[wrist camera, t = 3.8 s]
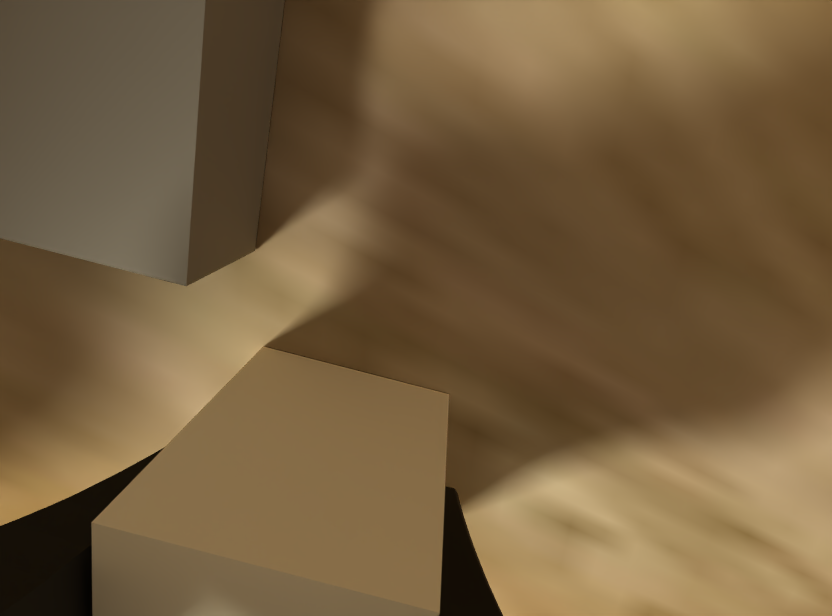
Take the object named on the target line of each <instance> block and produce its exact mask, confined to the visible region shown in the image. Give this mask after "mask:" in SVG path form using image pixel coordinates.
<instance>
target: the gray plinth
mask: <svg viewBox="0 0 832 616" xmlns="http://www.w3.org/2000/svg"><path fill="white" fill-rule="evenodd" d="M284 2H285V0H0V238H1V239H4V240H8V241H12V242H16V243H20V244H24V245H28V246H32V247H36V248H40V249H43V250H47V251H51V252H55V253H59V254H63V255H67V256H71V257H75V258H79V259H82V260H86V261H90V262H94V263H98V264H102V265H106V266H110V267H114V268H118V269H121V270H125V271H129V272H133V273H137V274H141V275H145V276H149V277H153V278H157V279H160V280H164V281H168V282H172V283H176V284H180V285H184V286H188V285H189V284H191V283H193V282H195V281H197V280H199V279H201V278H203V277H205V276H207V275H209V274H211V273H213V272H215V271H217V270H219V269H220V268H222V267H224V266H226V265H228V264H230V263H232V262H234V261H236V260H238V259H240V258H242V257H244V256H246V255H248V254H250V253H252V252H253V251H255V247H256V239H257V230H258V222H259V213H260V205H261V196H262V188H263V179H264V171H265V163H266V154H267V146H268V137H269V129H270V120H271V112H272V104H273V95H274V87H275V78H276V70H277V61H278V53H279V44H280V36H281V28H282V19H283V11H284Z"/></svg>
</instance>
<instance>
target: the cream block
mask: <svg viewBox="0 0 832 616" xmlns="http://www.w3.org/2000/svg"><path fill="white" fill-rule="evenodd" d="M448 410H449V394H446V393H442V392H439V391H435V390H431V389H427V388H423V387H419V386H415V385H411V384H407V383H404V382H400V381H396V380H392V379H388V378H384V377H380V376H376V375H372V374H369V373H365V372H361V371H357V370H353V369H349V368H345V367H341V366H337V365H334V364H330V363H326V362H322V361H318V360H314V359H310V358H306V357H302V356H299V355H295V354H291V353H287V352H283V351H279V350H275V349H271V348H267V347H264V346H263V347H262V348H261V349H260V350H259V351H258V352H257V353H256V354H255V356H254V357H253V358H252V359H251V360H250V361H249V362H248V363H247V364H246V365H245V366H244V367H243V368H242V369H241V370H240V371H239V372H238V373H237V374H236V375H235V376H234V377H233V378H232V379H231V380H230V381H229V382H228V383H227V384H226V385H225V386H224V387H223V388H222V389H221V390H220V391H219V392H218V393H217V394H216V395H215V396H214V398H213V399H212V400H211V401H210V402H209V403H208V404H207V405H206V406H205V407H204V408H203V409H202V410H201V411H200V412H199V413H198V414H197V415H196V416H195V417H194V418H193V419H192V420H191V421H190V422H189V423H188V424H187V425H186V426H185V427H184V428H183V429H182V430H181V431H180V432H179V433H178V434H177V435H176V436H175V437H174V438H173V439H172V441H171V442H170V443H169V444H168V445H167V446H166V447H165V448H164V449H163V450H162V451H161V452H160V453H159V454H158V455H157V456H156V457H155V458H154V459H153V460H152V461H151V462H150V463H149V464H148V465H147V466H146V467H145V468H144V469H143V470H142V471H141V472H140V473H139V474H138V475H137V476H136V477H135V478H134V479H133V480H132V481H131V483H130V484H129V485H128V486H127V487H126V488H125V489H124V490H123V491H122V492H121V493H120V494H119V495H118V496H117V497H116V498H115V499H114V500H113V501H112V502H111V503H110V504H109V505H108V506H107V507H106V508H105V509H104V510H103V511H102V512H101V513H100V514H99V515H98V516H97V517H96V518H95V519H94V520H93V521H92V522H91V528H92V616H439V613H440V594H441V571H442V548H443V525H444V502H445V479H446V456H447V433H448Z"/></svg>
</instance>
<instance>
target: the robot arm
mask: <svg viewBox="0 0 832 616" xmlns="http://www.w3.org/2000/svg"><path fill="white" fill-rule="evenodd" d="M164 448H165V447H164ZM164 448H163V449H164ZM163 449H161V450H159V451H157V452H156V453H154V454H152V455H150V456H148V457H147V458H145V459H143V460H141V461H139V462H137V463H136V464H134V465H132V466H130V467H128V468H127V469H125V470H123V471H121V472H119V473H117V474H115V475H113V476H111V477H109V478H107V479H105V480H103V481H101V482H99V483H97V484H95V485H93V486H91V487H89V488H87V489H85V490H83V491H81V492H79V493H77V494H75V495H73V496H71V497H69V498H66V499H64V500H62V501H60V502H57V503H55V504H53V505H51V506H48V507H46V508H44V509H41V510H39V511H36V512H34V513H32V514H29V515H27V516H24V517H22V518H20V519H17V520H15V521H12V522H9V523H7V524H4V525H2V526H0V616H92V528H91V522H92V521H93V520H94V519H95V518H96V517H97V516H98V515H99V514H100V513H101V512H102V511H103V510H104V509H105V508H106V507H107V506H108V505H109V504H110V503H111V502H112V501H113V500H114V499H115V498H116V497H117V496H118V495H119V494H120V493H121V492H122V491H123V490H124V489H125V488H126V487H127V486H128V485H129V484H130V483H131V481H132V480H133V479H134V478H135V477H136V476H137V475H138V474H139V473H140V472H141V471H142V470H143V469H144V468H145V467H146V466H147V465H148V464H149V463H150V462H151V461H152V460H153V459H154V458H155V457H156V456H157V455H158V454H159V453H160V452H161V451H162V450H163ZM439 616H503V614H502V612H501V610H500V608H499V606H498V604H497V602H496V599H495V597H494V595H493V593H492V590H491V588H490V586H489V584H488V581H487V579H486V576H485V574H484V572H483V569H482V566H481V564H480V561H479V559H478V556H477V553H476V551H475V548H474V546H473V543H472V540H471V537H470V534H469V531H468V528H467V525H466V522H465V519H464V516H463V512H462V509H461V505H460V501H459V498H458V494H457V492H456V490H455V489H454V488H450V487H446V486H445V502H444V525H443V548H442V571H441V594H440V613H439Z"/></svg>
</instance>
